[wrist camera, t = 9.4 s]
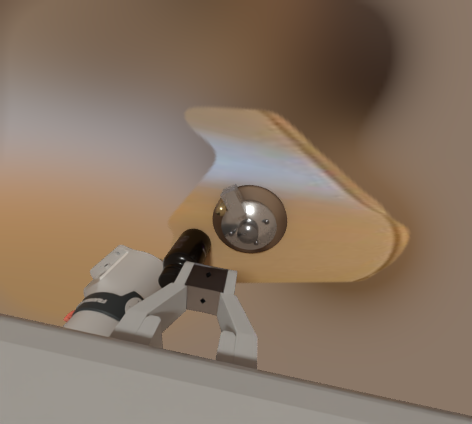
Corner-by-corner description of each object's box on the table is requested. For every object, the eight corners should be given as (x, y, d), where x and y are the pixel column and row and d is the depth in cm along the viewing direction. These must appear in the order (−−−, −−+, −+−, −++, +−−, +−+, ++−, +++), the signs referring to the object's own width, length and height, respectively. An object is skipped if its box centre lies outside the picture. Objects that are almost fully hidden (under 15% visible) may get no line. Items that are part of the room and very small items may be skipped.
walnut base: (235, 255, 40) (231, 274, 35) (201, 203, 35) (191, 217, 30) (296, 234, 36) (302, 253, 31) (268, 171, 31) (269, 181, 26)
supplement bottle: (217, 244, 39) (201, 290, 28) (195, 257, 42) (173, 304, 31) (196, 221, 37) (170, 262, 27) (174, 236, 40) (143, 279, 29)
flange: (283, 237, 34) (286, 249, 31) (236, 251, 37) (234, 264, 34) (256, 175, 29) (256, 181, 26) (205, 197, 32) (199, 205, 29)
